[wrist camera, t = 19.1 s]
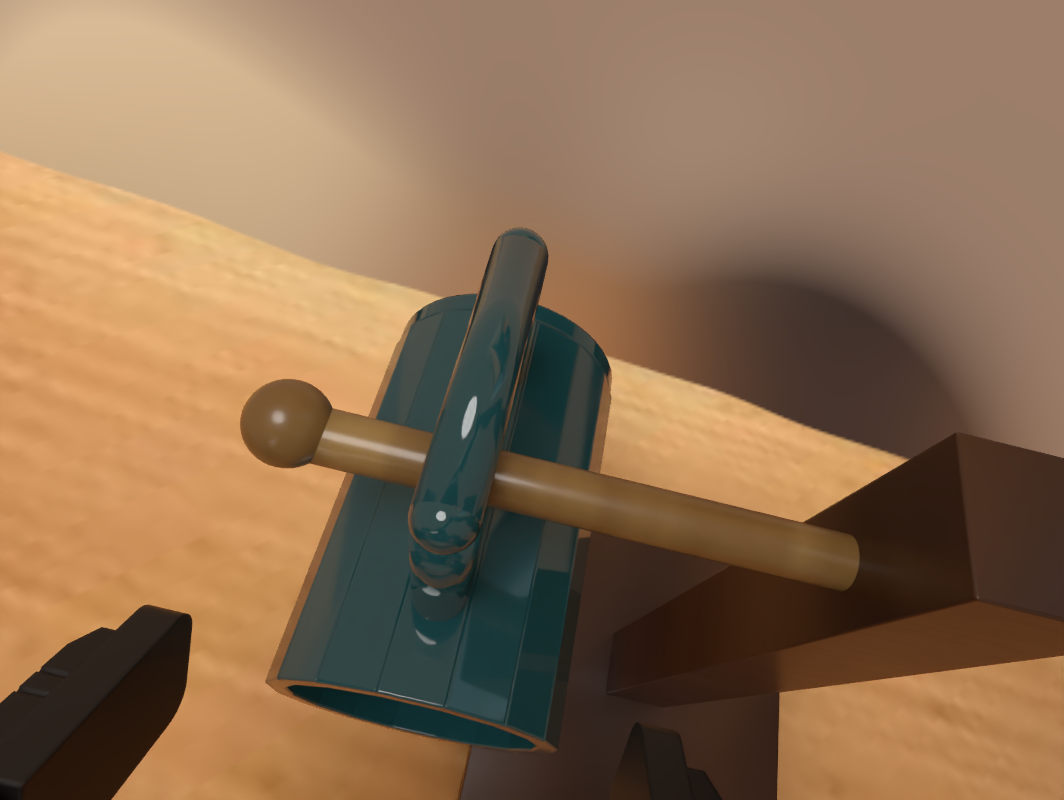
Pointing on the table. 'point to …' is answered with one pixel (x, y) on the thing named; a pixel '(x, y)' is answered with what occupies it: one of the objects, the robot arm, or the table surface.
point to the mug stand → (739, 590)
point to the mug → (459, 529)
